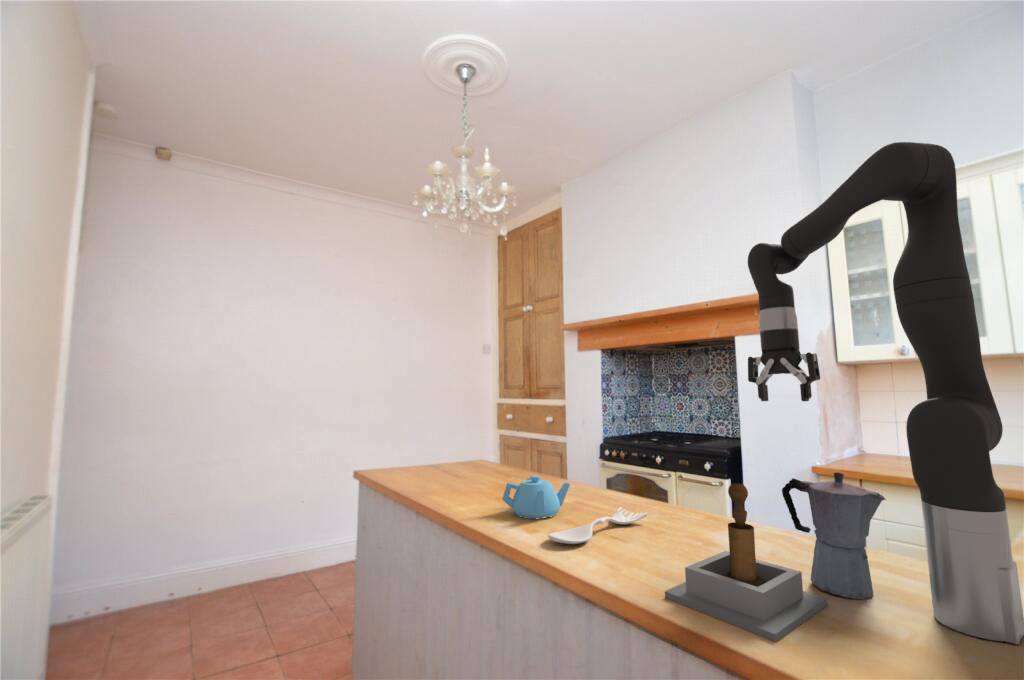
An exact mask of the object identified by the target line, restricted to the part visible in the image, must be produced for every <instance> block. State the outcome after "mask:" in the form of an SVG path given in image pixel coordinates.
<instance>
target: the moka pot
mask: <svg viewBox="0 0 1024 680" xmlns="http://www.w3.org/2000/svg"><path fill="white" fill-rule="evenodd" d="M844 475H845V474H844V473H841V472H837V471H836V472H833V478H834V481H818V482H812V481H806V480H799V479H797V478H791V479H790V480H789V481H788V483H786V484H784V485H785V486H783V487H782V488H781V493H782V494H781V495H782V498H783V499H784V502H785V505H786V506H787V510H788V513H789V514H790V516H791V517H790V518H791V520H792V523H793V524H794V525H793V526H794V528H795V530H797V531H801V532H803V533H808V534H809V533H810V532H811V530H812V529H811V528H810V527H809V526H804V525H802V524H801V521H800V519H799V517H798V514H797V510H796V508H795V504H794V501H793V498H792V495H791V493H790V491H791V490H793V489H795V490H798V492H799V491H800V492H803V493H807V495H808V499H809V505H810V511H811V512H810V513H811V518H812V525H813V526H814V535H815V538H816V540H815V543H814V548H813V559H812V565H811V566H812V567H811V571H810V572H811V573H810V581H811V582H812V584H813V585H815V586H816V587H817V588H818V589H820V590H822V591H824V592H827V593H829V594H832V595H835V596H839V597H842V598H843V597H844V598H847V599H852V600H867V599H870V598H871V597H872V596H873V595H874V589H873V583H872V577H871V571H870V566H869V559H868V554H867V549H866V546H867V545H866V540H867V537H869V535H870V534H869V533H870V525H871V520H872V519H873V518H874V516H875V514H876V512H877V510H878V508H879V506H880V505H881V503H882V501H885V500H886V498H885V497H884V495H882V494H880V493H879V492H876V491H872V490H869V489H866V488H865V487H861V486H859V485H854V484H852V483H851V484H850V483H847V482H844V481H843V480H844Z"/></svg>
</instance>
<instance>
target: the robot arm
mask: <svg viewBox="0 0 1024 680" xmlns="http://www.w3.org/2000/svg"><path fill="white" fill-rule="evenodd" d="M956 170H957V169H956V164H955V160H954V157H953V155H952V153H951V152H950V150H948V149H947V148H946V147H944V146H942V145H939V144H934V143H928V142H927V143H924V142H913V141H898V142H897V141H896V142H892V143H888V144H886V145H884V146H882V147H881V148H879V149H878V150H876V151H875V152H874V153H873V154H871V156H869V157H868V158H867V159H866V160H865V161H864V162H863V163H862V164H861V165H860V166H859V167H857V169H856V170H855V171H854V172H853V173H852V174H851V175H850V176H849V177H848V178H847V179H846V180H845V181H844V182H843V183H841V185H840V186H839V187H838V188H836V190H834V192H832V193H831V194H830V196H829V197H828V198H826V199H825V200H824V201H823V202H822V203H821V204H820V205H819V206H817V207H816V208H815V209H814V210H813V211H811V212H810V213H809V214H807V215H806V216H805V217H803V218H801V219H800V220H799V221H797V222H796V223H794V224H793V225H792V226H790V227H789V228H788V229H787V230H786V231H784V233H783V234H782V236H781V239H780V243H777V242H776V243H773V242H760V243H757V244H755V245H754V246H753V247H751V249H750V250H749V252H748V255H747V266H748V267H747V268H748V271H749V273H750V277H751V279H752V283H753V284H754V286H755V289H756V292H757V294H758V308H759V319H758V322H759V326H758V328H759V329H758V330H759V334H760V335H759V338H760V349H761V356H759V357H758V356H748V358H747V381H748V382H750V383H753V384H756V386H757V395H758V396H757V397H758V399H760V401H761V402H768V401H769V388H768V384H767V382H768V381H769V380H770V378H771V377H772V376H773V375H782V374H783V375H784V374H786V375H787V374H790V375H791V374H792V376H794V377H795V378H796V379H797V380H798V381H799V382H800V383H799V387H800V398H801V399H800V400H801V402H809V401H810V399H812V396H813V395H812V383H814V382H816V381H820V380H821V374H820V373H821V372H820V368H819V367H820V365H819V360H818V355H817V353H816V352H811V351H810V352H806V353H801V351H800V337H799V328H798V327H799V326H798V316H797V312H796V307H795V297H794V296H795V295H794V288H793V286H792V285H791V284H790V283H787V282H785V281H782V280H780V279H779V277H778V276H777V275H787V274H789V273H791V272H793V271H795V270H797V269H798V268H799V267H800V266H801V265H802V264H803V262H804V261H806V259H807V258H808V257H809V256H810V254H812V253H814V252H817V251H818V250H819V249H821V248H823V247H825V245H827V244H829V243H831V242H832V241H833V240H835V239H836V238H837V236H839V235H840V234H841V232H842V231H843V229H844V228H845V226H846V225H847V223H848V222H849V219H850V218H851V217H853V216H854V215H855V214H856V213H857V212H859V211H861V210H862V209H865V208H866V207H868V206H870V205H873V204H875V203H878V202H880V201H890V202H892V201H893V202H902V204H903V207H904V212H905V216H906V222H907V223H906V224H907V231H908V232H907V238H906V239H907V240H906V243H905V246H904V248H903V250H902V252H901V254H900V257H899V259H898V262H897V264H896V267H895V270H894V274H893V278H892V285H893V286H892V287H893V294H894V300H895V305H896V306H895V307H896V311H897V316H898V318H899V322H900V325H901V327H902V329H903V332H904V334H905V335H906V337H907V339H908V341H909V343H910V345H911V347H912V349H913V351H914V352H915V354H916V356H917V358H918V360H919V362H920V364H921V367H922V371H923V375H924V376H923V377H924V381H925V387H926V399H925V400H923V401H921V402H919V403H918V404H916V405H914V407H913V408H912V409H911V410H910V412H909V414H908V415H907V416H908V417H907V420H906V438H907V446H908V447H907V448H908V452H909V453H908V454H909V460H910V465H911V472H912V476H913V480H914V482H915V484H916V485H917V488H919V489H918V490H919V495H920V499H921V508H922V518H923V529H924V537H925V546H926V554H927V556H926V557H927V565H928V573H929V574H928V575H929V584H930V593H931V604H932V610H933V616H934V619H936V621H937V622H939V623H941V625H944V626H946V627H947V628H949V629H952V630H954V631H957V632H959V633H962V634H965V635H968V636H973V637H976V638H980V639H985V640H990V641H998V642H1004V641H1005V643H1009V642H1010V643H1011V644H1014V645H1017V644H1019V643H1021V642H1022V640H1021V639H1023V638H1024V610H1023V602H1022V593H1021V589H1020V580H1019V572H1018V564H1017V562H1016V561H1014V559H1013V553H1012V544H1011V538H1010V537H1011V536H1010V530H1009V529H1010V528H1009V521H1008V513H1007V507H1006V505H1007V504H1006V498H1005V494H1004V492H1003V491H1004V490H1003V489H1001V487H1000V486H998V484H997V482H996V480H995V477H994V474H993V468H992V462H991V455H990V452H991V451H993V450H994V449H995V448H997V446H998V445H999V444H1000V442H1001V440H1002V437H1003V431H1004V430H1003V428H1004V427H1003V423H1002V419H1001V415H1000V413H999V412H1000V411H999V410H998V407H997V404H996V401H995V399H994V396H993V393H992V390H991V387H990V384H989V381H988V378H987V375H986V372H985V368H984V364H983V363H984V361H983V358H982V350H981V349H982V347H981V339H980V332H979V331H980V330H979V325H978V320H977V313H976V306H975V299H974V294H973V287H972V283H971V278H970V273H969V270H968V267H967V262H966V256H965V251H964V245H963V243H964V242H963V238H962V232H961V226H960V220H959V211H958V192H957V191H958V187H957V183H958V182H957V171H956ZM802 361H804V363H805V364H806V365H807V371H808V375H807V374H806V372H805V371H804V369H803V368H802V367H801V366H800V364H801V362H802ZM761 363H762V365H763V366H764V367H763V369H762V370H761V371H760V372H759V366H760V365H761ZM1020 641H1021V642H1020ZM1019 645H1020V644H1019Z"/></svg>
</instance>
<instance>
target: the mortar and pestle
mask: <svg viewBox="0 0 1024 680" xmlns="http://www.w3.org/2000/svg"><path fill="white" fill-rule="evenodd" d="M727 494H728V496H729V498H730V499H731V501H732V502H733V505H734V507H733V509H732V511H731V512H732V516H733V519H734V522H732V521H731V522H729V523H727V530H728V547H729V548H728V549H729V552H730V572H728V573H727V574H726V575H724V576H725V577H728V578H731V579H734V580H737V581H740V582H744V583H747V584H750V585H753V586H756V587H759V586H761V585H763V584H765V582H764V581H763V580H762V579H761V578H760V577H759V576H757V573H756V557H757V556H756V542H755V541H756V539H755V527H754V526H753V525H751V524H748V523H746V521H747V517H748V511H747V510H745V507H744V504H745V502H746V501H747V498H748V496H749V492H748V489H747V487H746V486H745V485H744V484H743V483H740V482H733V483H732V484H730V485H729V486H728V491H727Z"/></svg>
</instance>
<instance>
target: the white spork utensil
mask: <svg viewBox="0 0 1024 680" xmlns="http://www.w3.org/2000/svg"><path fill="white" fill-rule="evenodd" d="M647 516H648V511H647V512H644V513H643V512H641V513H640V512H638V513H635V514H634V512H630V513H629V510H627V511H626V509H623V507H622V506H620V507H618V509H616V511H615V512H614V514H612V516H611V517H610V516H603V517H597V518H594V519H593V520H592V521H591V522H588V523H586V524H584V525H581V526H577V527H575V528H574V527H573V528H568V529H565V530H560V531H556V532H555V531H554V532H550V533H548V534H547V537H548V538H549V539H550V540H551V541H553V542H556V543H559V544H566V545H579V544H582V543H584V542H587V541H589V540H590V539H591V538H592V536H593V528H594V526H596V525H600V524H601V525H603V524H605V523H606V522H612V523H613V524H617V525H621V526H624V525H629V524H632V523H635V522H637V521H640V520H641V519H643V518H646V517H647Z"/></svg>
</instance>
